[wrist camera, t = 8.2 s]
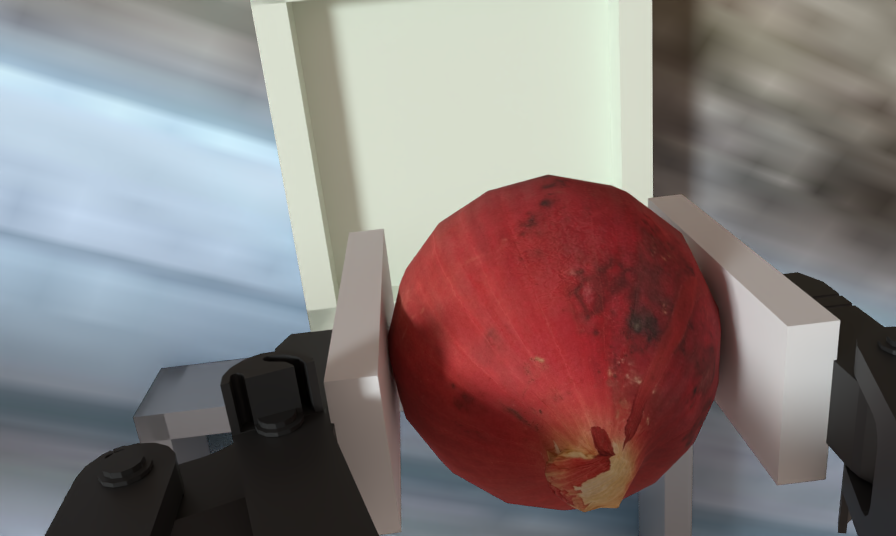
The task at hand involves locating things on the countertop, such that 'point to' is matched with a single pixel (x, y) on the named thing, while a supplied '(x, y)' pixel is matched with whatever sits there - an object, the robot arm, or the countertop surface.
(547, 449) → the onion
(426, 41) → the tray
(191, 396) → the bin
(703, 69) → the countertop surface
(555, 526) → the countertop surface
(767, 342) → the robot arm
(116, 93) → the countertop surface
